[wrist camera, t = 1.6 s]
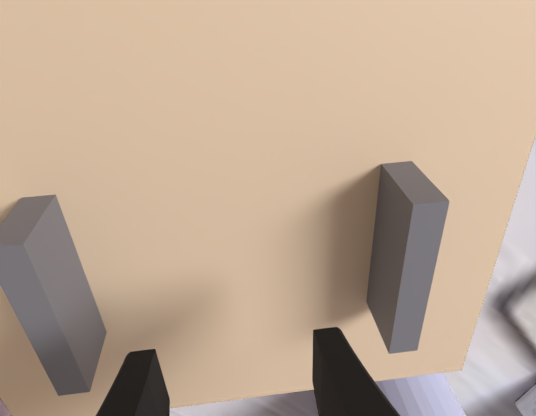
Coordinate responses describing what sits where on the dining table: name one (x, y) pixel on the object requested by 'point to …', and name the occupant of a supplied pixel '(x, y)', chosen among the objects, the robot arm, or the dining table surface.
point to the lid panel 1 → (111, 206)
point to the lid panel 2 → (368, 172)
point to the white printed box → (527, 403)
